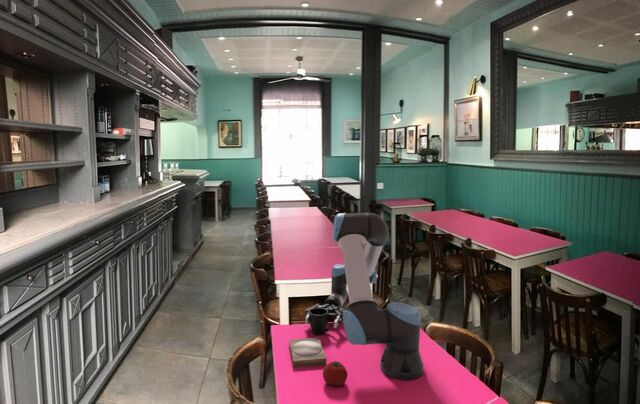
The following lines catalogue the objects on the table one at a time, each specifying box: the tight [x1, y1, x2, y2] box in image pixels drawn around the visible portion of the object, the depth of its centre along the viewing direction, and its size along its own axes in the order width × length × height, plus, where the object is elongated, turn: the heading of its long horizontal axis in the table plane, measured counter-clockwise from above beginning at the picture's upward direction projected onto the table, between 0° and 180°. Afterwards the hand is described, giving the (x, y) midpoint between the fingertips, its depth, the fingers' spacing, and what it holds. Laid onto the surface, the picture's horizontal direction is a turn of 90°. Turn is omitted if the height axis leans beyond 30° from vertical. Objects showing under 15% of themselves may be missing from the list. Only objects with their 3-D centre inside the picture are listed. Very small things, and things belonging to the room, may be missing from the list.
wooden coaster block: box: [289, 337, 327, 368], centre depth 149 cm, size 16×12×3 cm
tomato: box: [322, 360, 348, 387], centre depth 130 cm, size 8×8×7 cm
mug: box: [309, 308, 337, 336], centre depth 166 cm, size 8×12×10 cm
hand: (320, 323), depth 162 cm, fingers closed on mug, 12 cm apart
